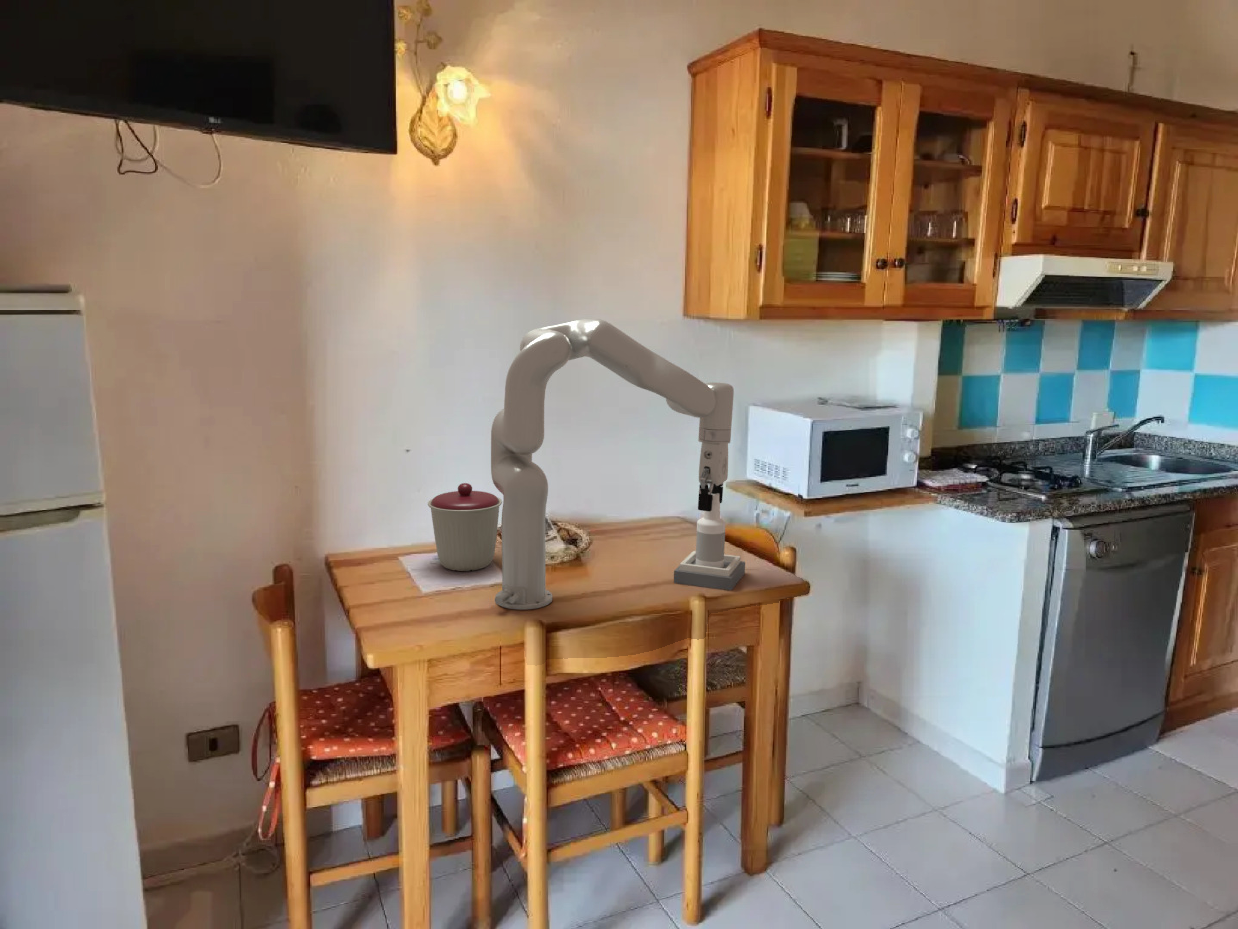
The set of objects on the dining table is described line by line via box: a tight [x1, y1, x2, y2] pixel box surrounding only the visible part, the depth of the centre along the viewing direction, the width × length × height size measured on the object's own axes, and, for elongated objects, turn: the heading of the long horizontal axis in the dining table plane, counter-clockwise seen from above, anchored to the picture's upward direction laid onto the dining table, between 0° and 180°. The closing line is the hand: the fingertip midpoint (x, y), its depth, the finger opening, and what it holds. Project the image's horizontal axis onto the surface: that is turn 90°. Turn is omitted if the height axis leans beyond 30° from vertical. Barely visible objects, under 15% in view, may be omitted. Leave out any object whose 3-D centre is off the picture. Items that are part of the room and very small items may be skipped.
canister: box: [427, 482, 503, 572], centre depth 211 cm, size 18×18×21 cm
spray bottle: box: [695, 493, 726, 568], centre depth 204 cm, size 7×7×18 cm
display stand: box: [673, 550, 746, 591], centre depth 206 cm, size 14×14×4 cm
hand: (710, 506), depth 203 cm, fingers open, 9 cm apart
